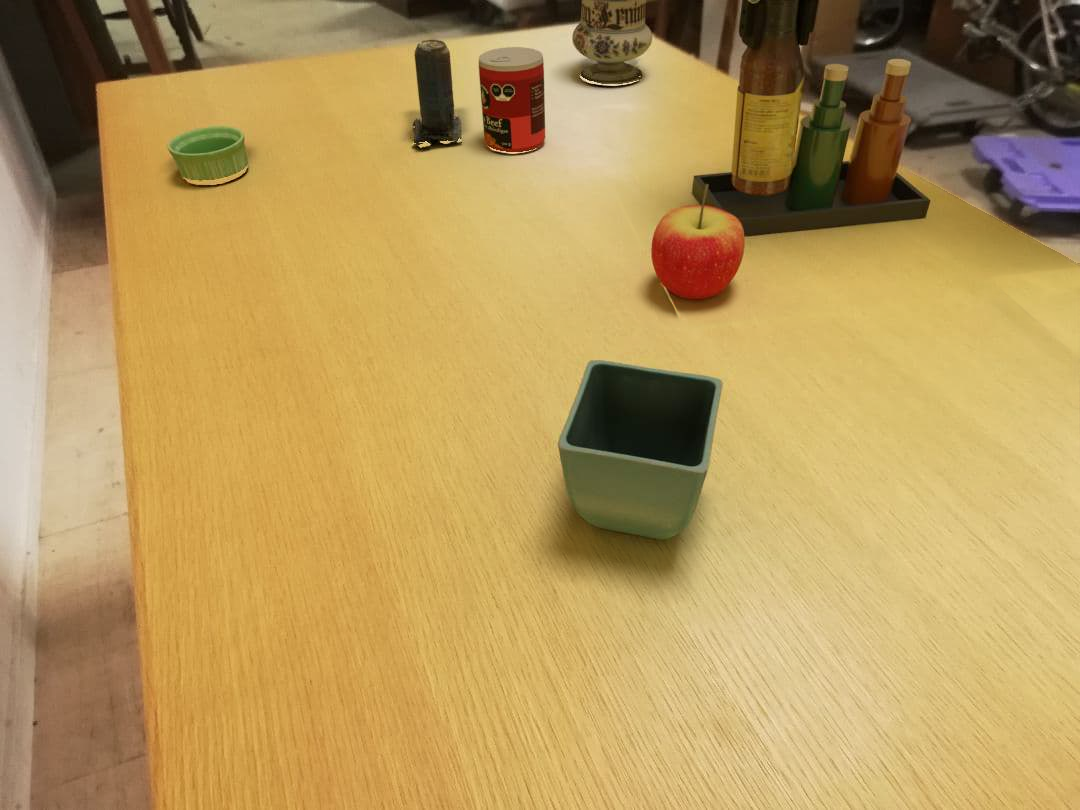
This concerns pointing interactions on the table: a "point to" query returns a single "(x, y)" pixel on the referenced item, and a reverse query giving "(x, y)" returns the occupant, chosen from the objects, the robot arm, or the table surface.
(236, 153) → the ramekin
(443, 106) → the dark pillar on base
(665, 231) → the apple
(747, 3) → the robot arm
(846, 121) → the green bottle
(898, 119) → the amber bottle
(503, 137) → the canned food
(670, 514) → the flower pot
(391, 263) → the table surface
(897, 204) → the tray
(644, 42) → the apothecary jar
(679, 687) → the table surface
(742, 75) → the sauce bottle
